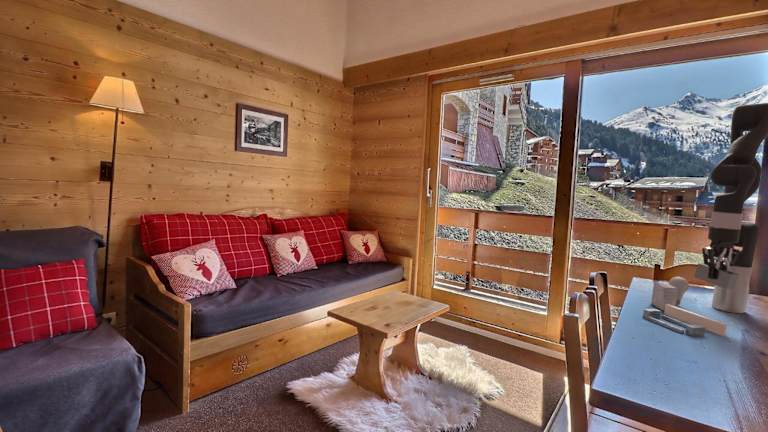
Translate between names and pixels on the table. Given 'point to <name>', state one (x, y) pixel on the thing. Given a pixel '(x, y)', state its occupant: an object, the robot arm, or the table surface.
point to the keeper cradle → (690, 329)
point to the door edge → (696, 319)
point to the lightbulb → (679, 287)
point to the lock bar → (723, 276)
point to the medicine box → (663, 295)
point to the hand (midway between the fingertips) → (716, 278)
